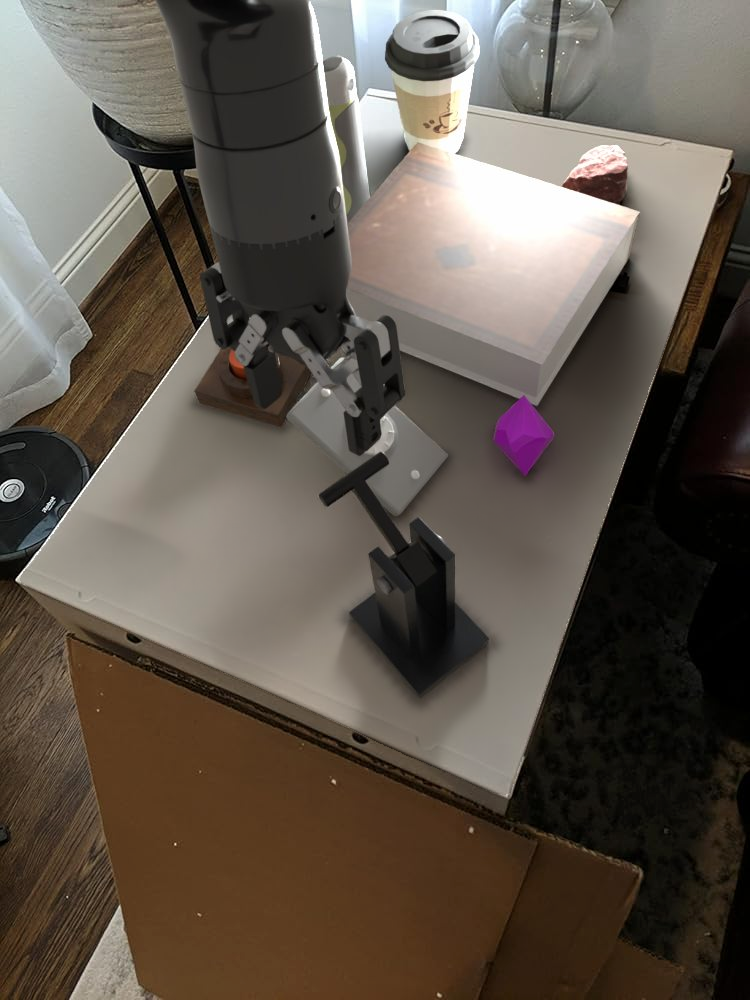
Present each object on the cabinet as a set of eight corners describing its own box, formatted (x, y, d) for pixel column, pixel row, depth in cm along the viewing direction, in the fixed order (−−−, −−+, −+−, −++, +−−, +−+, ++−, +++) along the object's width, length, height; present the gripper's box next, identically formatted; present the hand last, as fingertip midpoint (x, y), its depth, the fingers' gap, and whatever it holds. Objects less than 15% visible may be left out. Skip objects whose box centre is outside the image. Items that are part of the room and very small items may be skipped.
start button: (257, 382, 89) (253, 371, 87) (226, 374, 90) (222, 363, 88) (271, 357, 91) (268, 346, 89) (241, 349, 92) (238, 338, 90)
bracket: (349, 617, 78) (329, 539, 66) (417, 566, 80) (410, 482, 68) (419, 699, 74) (412, 633, 61) (489, 643, 76) (496, 568, 63)
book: (419, 187, 108) (417, 142, 103) (629, 257, 99) (639, 211, 94) (313, 315, 98) (305, 272, 93) (536, 405, 89) (542, 364, 84)
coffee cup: (414, 183, 109) (409, 71, 96) (376, 134, 115) (367, 23, 102) (493, 153, 111) (498, 39, 98) (452, 106, 116) (452, -6, 104)
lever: (315, 496, 66) (321, 492, 64) (376, 453, 67) (384, 449, 65) (388, 602, 67) (396, 602, 64) (446, 557, 68) (457, 556, 66)
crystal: (485, 446, 87) (487, 419, 83) (524, 418, 88) (528, 390, 84) (521, 479, 85) (525, 452, 81) (561, 449, 86) (566, 421, 82)
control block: (281, 427, 90) (275, 404, 87) (198, 404, 93) (189, 380, 89) (312, 371, 94) (307, 347, 91) (232, 350, 96) (224, 325, 93)
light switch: (402, 513, 82) (289, 410, 80) (382, 525, 87) (276, 429, 86) (453, 452, 85) (345, 351, 84) (431, 467, 90) (329, 373, 89)
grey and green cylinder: (357, 234, 105) (339, 81, 88) (325, 221, 106) (300, 68, 89) (379, 210, 107) (365, 56, 90) (347, 197, 108) (327, 44, 91)
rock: (622, 190, 109) (559, 177, 110) (637, 141, 104) (572, 128, 105) (618, 230, 102) (551, 216, 102) (635, 179, 97) (565, 165, 98)
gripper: (137, 201, 48) (204, 417, 60) (331, 272, 41) (363, 499, 53) (230, 146, 52) (275, 359, 64) (421, 203, 45) (432, 430, 57)
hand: (315, 423), depth 58 cm, fingers open, 8 cm apart
